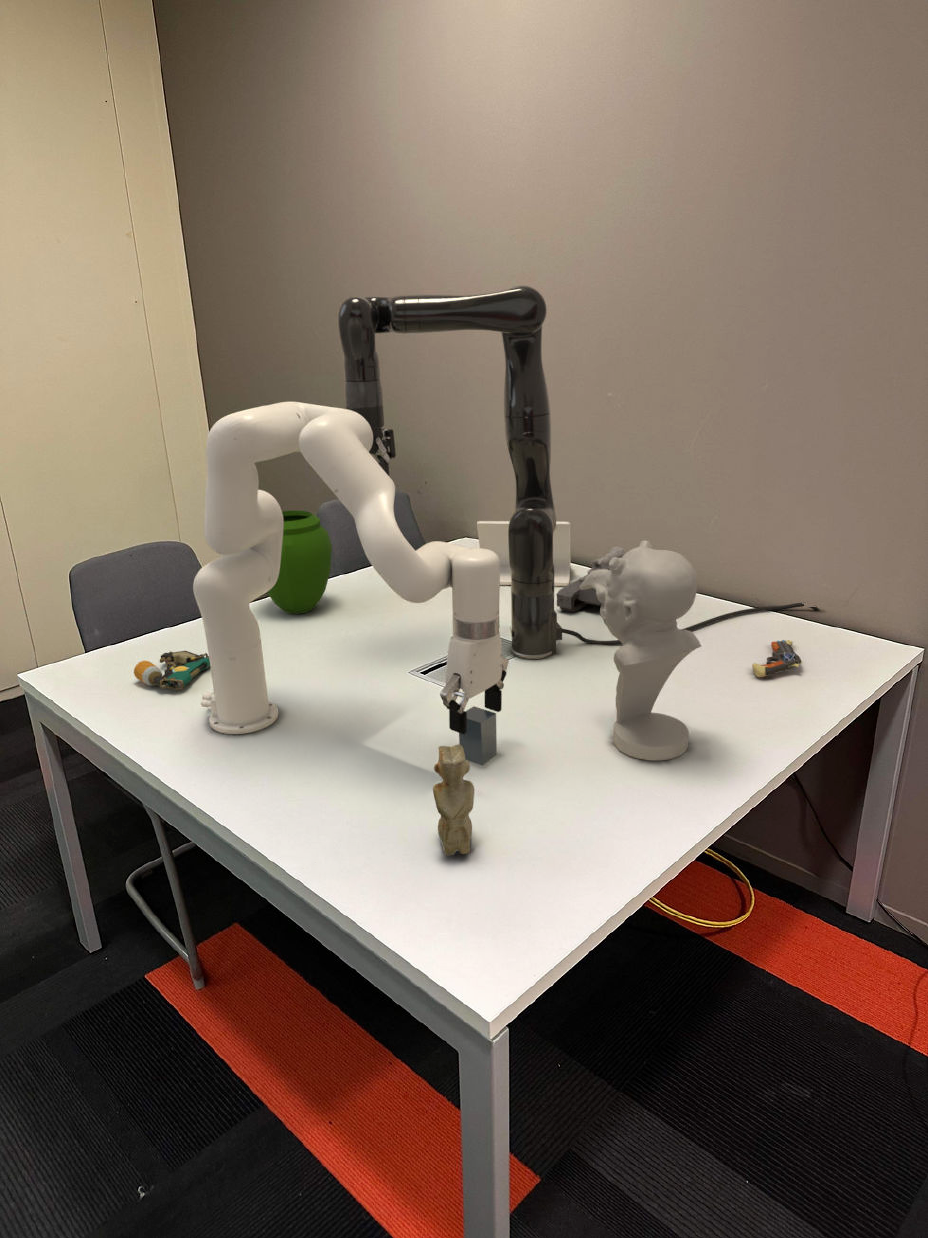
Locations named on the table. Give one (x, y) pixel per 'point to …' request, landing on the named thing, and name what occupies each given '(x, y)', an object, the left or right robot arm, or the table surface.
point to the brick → (479, 736)
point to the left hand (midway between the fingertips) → (475, 720)
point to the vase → (302, 563)
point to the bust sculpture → (646, 643)
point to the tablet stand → (496, 540)
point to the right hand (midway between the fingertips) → (369, 484)
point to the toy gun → (778, 659)
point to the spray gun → (172, 669)
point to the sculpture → (454, 800)
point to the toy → (576, 598)
